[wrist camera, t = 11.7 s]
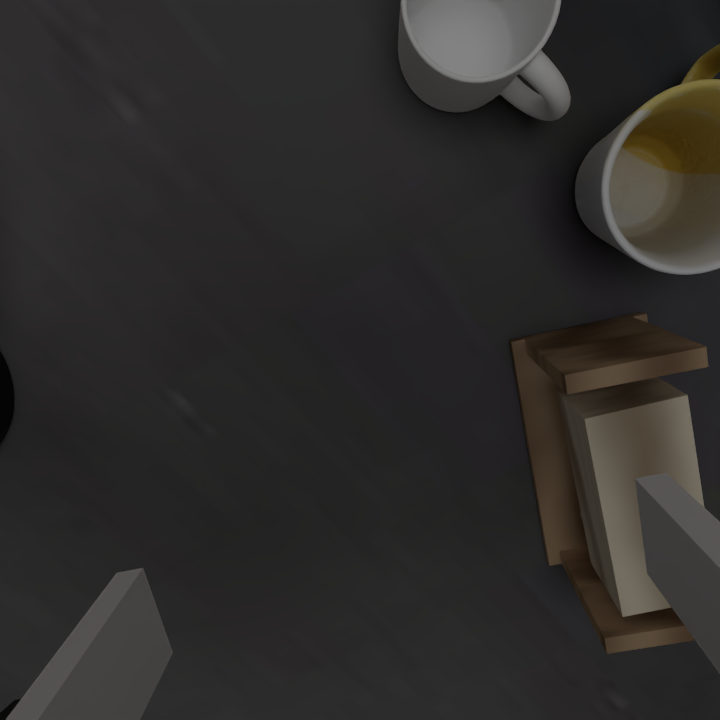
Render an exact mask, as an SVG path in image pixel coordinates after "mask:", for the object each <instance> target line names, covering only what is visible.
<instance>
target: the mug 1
mask: <svg viewBox="0 0 720 720" xmlns="http://www.w3.org/2000/svg"><path fill="white" fill-rule="evenodd" d="M560 5H561V0H401V1H400V17H399V33H398V55H399V62H400V66H401V70H402V73H403V76H404V78H405V80H406V82H407V84H408V85H409V87H410V88H411V90H412V91H413V92H414V93H415V94H416V95H417V96H418V98H420V99H421V100H422V101H423V102H425V103H426V104H428V105H430V106H431V107H434V108H436V109H438V110H442V111H446V112H466V111H471V110H474V109H477V108H479V107H481V106H483V105H485V104H487V103H488V102H490V101H491V100H493V99H494V98H496V97H497V96H498V95H501V96H502V97H503V98H505V99H506V100H507V101H508V102H510V103H511V104H512V105H513V106H515V107H516V108H518V109H519V110H521V111H522V112H524V113H526V114H528V115H529V116H532V117H534V118H536V119H540V120H545V121H553V120H556V119H559V118H561V117H562V116H563V115H564V114H566V112H567V110H568V108H569V106H570V98H571V97H570V92H569V89H568V86H567V84H566V82H565V80H564V78H563V76H562V75H561V73H560V72H559V70H558V69H557V68H556V67H555V65H554V64H553V63H552V62H551V61H550V59H549V58H548V57H547V56H546V55H545V54H544V53H543V52H542V51H541V49H542V47H543V46H544V45H545V43H546V42H547V40H548V38H549V36H550V35H551V33H552V30H553V28H554V26H555V24H556V21H557V17H558V14H559V10H560ZM518 74H520V75H521V76H522V77H523V78H524V79H525V80H527V81H528V82H529V83H530V84H531V85H532V86H533V87H534V88H535V89H536V90H537V91H538V92H539V93H540V95H539V94H538V93H536V92H534V91H533V90H531V89H530V88H529V87H528V86H526V85H525V84H524V83H523V82H522V81H521V80H520V79H519V78H518V77H517V75H518Z"/></svg>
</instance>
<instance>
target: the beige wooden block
mask: <svg viewBox="0 0 720 720" xmlns="http://www.w3.org/2000/svg"><path fill="white" fill-rule="evenodd" d="M556 392H557V397H558V402H559V407H560V412H561V417H562V422H563V426H564V431H565V436H566V441H567V446H568V451H569V456H570V461H571V466H572V471H573V476H574V481H575V486H576V491H577V496H578V501H579V506H580V511H581V515H582V520H583V525H584V530H585V535H586V540H587V545H588V550H589V555H590V560H591V564H592V566H593V567H594V569H595V571H596V573H597V574H598V576H599V578H600V579H601V581H602V583H603V584H604V586H605V588H606V590H607V591H608V593H609V595H610V596H611V598H612V600H613V601H614V603H615V605H616V607H617V608H618V610H619V612H620V613H621V615H622V617H625V616H631V615H636V614H641V613H646V612H651V611H656V610H661V609H666V608H671V606H670V605H669V603H668V602H667V600H666V599H665V598H664V596H663V595H662V594H661V592H660V591H659V589H658V588H657V587H656V585H655V584H654V583H653V581H652V580H651V578H650V577H649V576H648V574H647V569H646V561H645V553H644V545H643V538H642V530H641V522H640V514H639V506H638V499H637V491H636V483H635V478H640V477H645V476H651V475H656V474H662V473H667V474H668V475H669V476H670V477H671V478H673V479H674V480H675V481H676V482H677V483H678V484H679V485H680V486H681V487H682V488H683V489H685V490H686V491H687V492H688V493H689V494H690V495H691V496H692V497H693V498H694V499H695V500H696V501H698V502H699V503H700V504H701V505H702V506H703V507H704V502H703V496H702V489H701V482H700V476H699V469H698V462H697V455H696V449H695V442H694V435H693V429H692V422H691V415H690V408H689V402H688V395H686V394H685V393H683V392H681V391H680V390H678V389H676V388H675V387H673V386H671V385H670V384H668V383H666V382H665V381H663V380H661V379H660V378H658V377H654V378H649V379H644V380H639V381H634V382H629V383H624V384H619V385H613V386H608V387H603V388H598V389H593V390H588V391H583V392H578V393H573V394H567V393H565V392H564V391H563V390H562V389H558V390H556Z"/></svg>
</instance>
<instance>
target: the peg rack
mask: <svg viewBox="0 0 720 720" xmlns="http://www.w3.org/2000/svg"><path fill="white" fill-rule="evenodd" d="M509 342H510V348H511V354H512V360H513V365H514V371H515V377H516V383H517V389H518V395H519V400H520V406H521V412H522V418H523V424H524V430H525V435H526V441H527V447H528V453H529V459H530V464H531V470H532V476H533V482H534V488H535V494H536V499H537V505H538V511H539V517H540V523H541V529H542V534H543V540H544V546H545V552H546V558H547V561H548V564H549V566H552V565H558V564H562V565H563V567H564V569H565V571H566V573H567V575H568V577H569V579H570V581H571V583H572V585H573V587H574V589H575V591H576V593H577V595H578V597H579V599H580V601H581V603H582V605H583V607H584V609H585V611H586V613H587V615H588V617H589V619H590V621H591V623H592V625H593V627H594V629H595V631H596V633H597V635H598V637H599V639H600V641H601V643H602V645H603V647H604V649H605V651H606V653H607V654H609V653H615V652H622V651H628V650H634V649H641V648H647V647H654V646H660V645H667V644H673V643H680V642H686V641H693V640H695V639H694V638H693V636H692V635H691V633H690V632H689V631H688V629H687V628H686V627H685V625H684V624H683V622H682V621H681V620H680V618H679V617H678V616H677V614H676V613H675V611H674V610H673V609H672V607H671V608H666V609H661V610H656V611H651V612H646V613H641V614H636V615H631V616H625V617H622V615H621V613H620V612H619V610H618V608H617V607H616V605H615V603H614V601H613V600H612V598H611V596H610V595H609V593H608V591H607V590H606V588H605V586H604V584H603V583H602V581H601V579H600V578H599V576H598V574H597V573H596V571H595V569H594V567H593V566H592V564H591V560H590V555H589V550H588V545H587V540H586V535H585V530H584V525H583V520H582V515H581V511H580V506H579V501H578V496H577V491H576V486H575V481H574V476H573V471H572V466H571V461H570V456H569V451H568V446H567V441H566V436H565V431H564V426H563V422H562V417H561V412H560V407H559V402H558V397H557V392H556V390H558V389H562V390H563V391H564V392H565V393H567V394H573V393H578V392H583V391H588V390H593V389H598V388H603V387H608V386H613V385H619V384H624V383H629V382H634V381H639V380H644V379H649V378H654V377H659V376H664V375H669V374H674V373H679V372H684V371H689V370H694V369H700V368H705V367H708V359H707V348H706V346H703V345H701V344H698V343H696V342H693V341H691V340H689V339H686V338H684V337H681V336H679V335H676V334H674V333H671V332H669V331H667V330H664V329H662V328H659V327H657V326H654V325H652V324H650V323H648V320H647V314H646V313H643V312H640V313H635V314H631V315H626V316H621V317H616V318H611V319H607V320H602V321H597V322H592V323H587V324H583V325H578V326H573V327H568V328H564V329H559V330H554V331H549V332H544V333H540V334H535V335H530V336H525V337H520V338H516V339H511V340H509Z"/></svg>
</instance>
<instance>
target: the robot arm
mask: <svg viewBox="0 0 720 720" xmlns="http://www.w3.org/2000/svg"><path fill="white" fill-rule="evenodd" d="M12 410H13V391H12V384H11V379H10V376H9V372H8V369H7V367H6V364H5V362H4V360H3V358H2V356H1V354H0V442H1V441H2V439H3V438H4V436H5V434H6V432H7V430H8V427H9V424H10V421H11V416H12ZM635 483H636V491H637V499H638V506H639V514H640V522H641V530H642V538H643V545H644V553H645V561H646V569H647V574H648V576H649V577H650V578H651V580H652V581H653V583H654V584H655V585H656V587H657V588H658V589H659V591H660V592H661V594H662V595H663V596H664V598H665V599H666V600H667V602H668V603H669V605H670V606H671V607H672V609H673V610H674V611H675V613H676V614H677V616H678V617H679V618H680V620H681V621H682V622H683V624H684V625H685V627H686V628H687V629H688V631H689V632H690V633H691V635H692V636H693V638H694V639H695V640H696V642H697V643H698V644H699V646H700V647H701V649H702V650H703V651H704V653H705V654H706V655H707V657H708V658H709V660H710V661H711V662H712V664H713V665H714V666H715V668H716V669H717V671H718V672H719V673H720V522H719V521H718V520H717V519H716V518H715V517H714V516H713V515H712V514H711V513H710V512H708V511H707V510H706V509H705V508H704V507H703V506H702V505H701V504H700V503H699V502H698V501H696V500H695V499H694V498H693V497H692V496H691V495H690V494H689V493H688V492H687V491H686V490H685V489H683V488H682V487H681V486H680V485H679V484H678V483H677V482H676V481H675V480H674V479H673V478H671V477H670V476H669V475H668V474H667V473H662V474H656V475H651V476H645V477H640V478H635ZM172 653H173V652H172V649H171V646H170V643H169V640H168V637H167V635H166V632H165V629H164V626H163V623H162V620H161V617H160V615H159V612H158V609H157V606H156V603H155V600H154V598H153V595H152V592H151V589H150V586H149V583H148V580H147V578H146V575H145V572H144V569H143V568H140V569H134V570H129V571H123V572H118V573H116V574H115V576H114V577H113V578H112V580H111V581H110V582H109V584H108V585H107V586H106V588H105V589H104V590H103V592H102V593H101V594H100V596H99V597H98V598H97V600H96V601H95V602H94V603H93V605H92V606H91V607H90V609H89V610H88V611H87V613H86V614H85V615H84V617H83V618H82V619H81V621H80V622H79V623H78V625H77V626H76V627H75V629H74V630H73V631H72V633H71V634H70V635H69V637H68V638H67V639H66V640H65V642H64V643H63V644H62V646H61V647H60V648H59V650H58V651H57V652H56V654H55V655H54V656H53V658H52V659H51V660H50V662H49V663H48V664H47V666H46V667H45V668H44V670H43V671H42V672H41V674H40V675H39V676H38V677H37V679H36V680H35V681H34V683H33V684H32V685H31V687H30V688H29V689H28V691H27V692H26V693H25V695H24V696H23V697H22V699H19V700H14V701H13V702H12V703H11V704H10V705H9V706H8V707H6V708H5V709H4V710H3V711H2V712H1V713H0V720H140V719H141V717H142V715H143V713H144V711H145V709H146V706H147V704H148V702H149V700H150V698H151V696H152V694H153V692H154V690H155V688H156V686H157V684H158V682H159V680H160V678H161V676H162V674H163V672H164V670H165V668H166V666H167V664H168V662H169V660H170V657H171V655H172Z"/></svg>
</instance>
